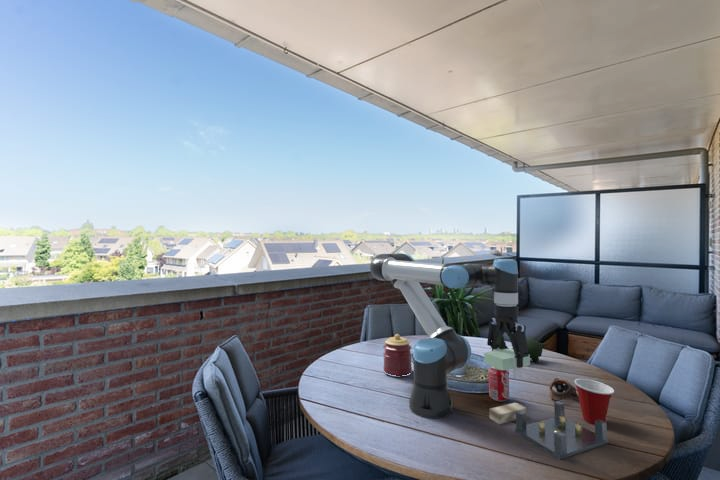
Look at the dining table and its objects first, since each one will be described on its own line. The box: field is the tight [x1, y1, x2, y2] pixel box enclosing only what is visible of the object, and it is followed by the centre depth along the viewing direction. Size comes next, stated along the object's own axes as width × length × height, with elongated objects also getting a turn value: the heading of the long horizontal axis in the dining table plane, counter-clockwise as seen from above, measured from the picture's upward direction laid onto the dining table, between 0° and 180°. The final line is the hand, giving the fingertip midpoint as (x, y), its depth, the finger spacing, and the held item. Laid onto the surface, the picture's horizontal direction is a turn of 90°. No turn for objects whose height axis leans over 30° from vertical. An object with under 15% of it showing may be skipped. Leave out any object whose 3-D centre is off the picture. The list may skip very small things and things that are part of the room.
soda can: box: [488, 365, 510, 403], centre depth 127 cm, size 7×7×12 cm
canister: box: [382, 333, 413, 376], centre depth 154 cm, size 13×13×18 cm
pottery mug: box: [549, 377, 580, 403], centre depth 127 cm, size 12×10×8 cm
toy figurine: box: [498, 336, 548, 363], centre depth 169 cm, size 9×19×25 cm
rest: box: [488, 402, 528, 425], centre depth 112 cm, size 12×4×3 cm, turn 112°
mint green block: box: [483, 347, 531, 371], centre depth 113 cm, size 12×8×4 cm, turn 112°
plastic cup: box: [574, 378, 615, 426], centre depth 110 cm, size 11×11×12 cm
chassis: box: [514, 400, 609, 460], centre depth 101 cm, size 20×15×6 cm
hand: (507, 372), depth 113 cm, fingers closed on mint green block, 8 cm apart
